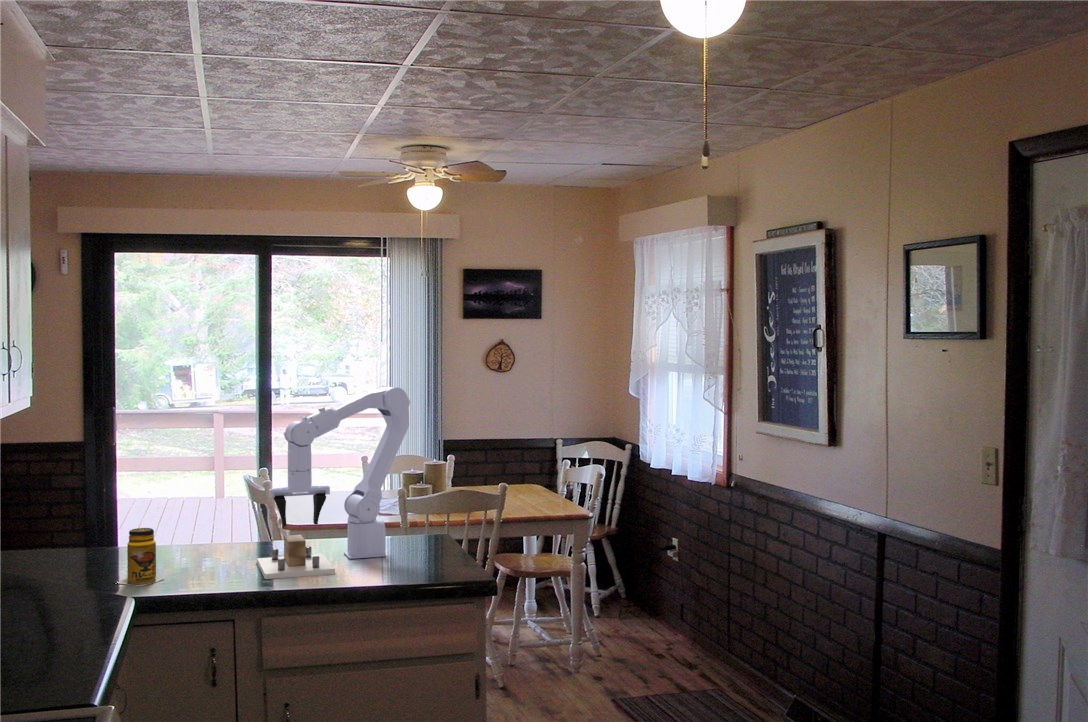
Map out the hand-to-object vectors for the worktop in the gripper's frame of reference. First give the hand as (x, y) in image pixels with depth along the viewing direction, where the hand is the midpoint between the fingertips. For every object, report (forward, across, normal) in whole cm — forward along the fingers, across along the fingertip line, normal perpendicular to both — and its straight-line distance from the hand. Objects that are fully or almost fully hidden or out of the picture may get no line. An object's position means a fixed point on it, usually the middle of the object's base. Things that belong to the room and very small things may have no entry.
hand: (299, 524), depth 252 cm
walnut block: (+8, +2, +6) cm, 10 cm away
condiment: (+9, +37, +7) cm, 39 cm away
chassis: (+9, +2, +6) cm, 11 cm away
